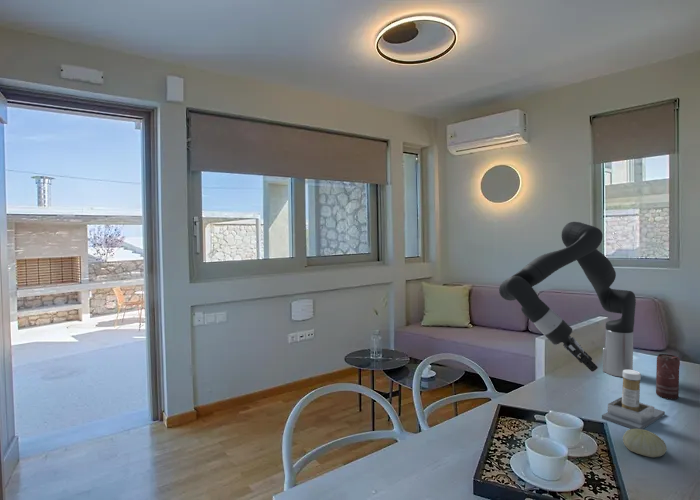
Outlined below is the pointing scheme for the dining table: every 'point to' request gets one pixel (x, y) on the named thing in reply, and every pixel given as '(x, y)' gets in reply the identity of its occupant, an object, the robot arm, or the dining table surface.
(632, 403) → the sprinkles bottle
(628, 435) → the sea urchin shell
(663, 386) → the can
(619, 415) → the collar
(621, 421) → the slate board
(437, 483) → the dining table surface
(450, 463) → the dining table surface
